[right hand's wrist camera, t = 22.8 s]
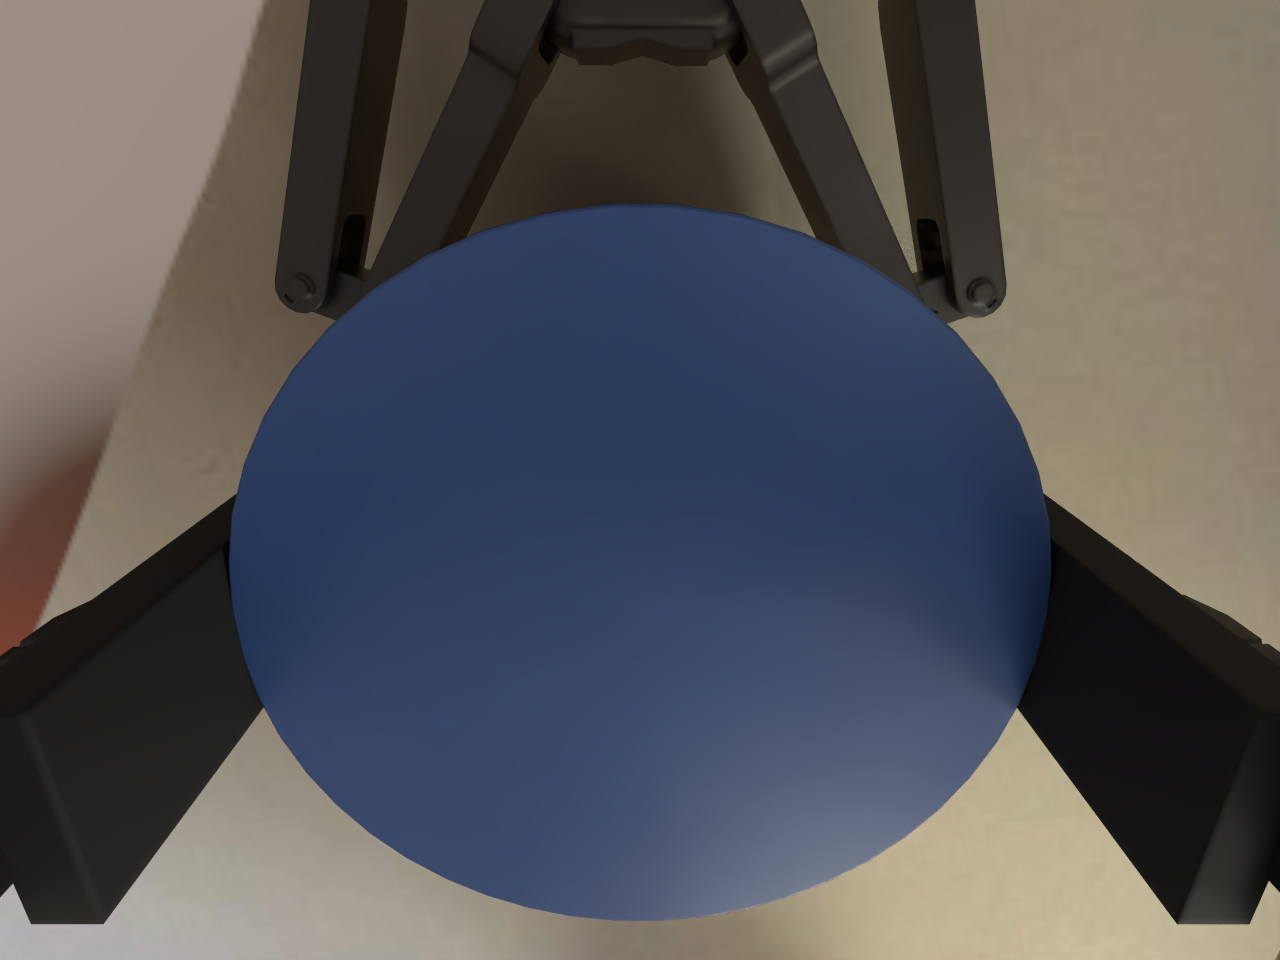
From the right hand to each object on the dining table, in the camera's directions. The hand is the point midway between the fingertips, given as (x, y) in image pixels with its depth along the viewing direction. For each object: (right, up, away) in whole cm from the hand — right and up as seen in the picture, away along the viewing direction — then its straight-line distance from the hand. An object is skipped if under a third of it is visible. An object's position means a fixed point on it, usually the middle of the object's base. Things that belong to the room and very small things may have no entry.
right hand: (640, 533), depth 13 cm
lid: (0, -1, -3) cm, 3 cm away
